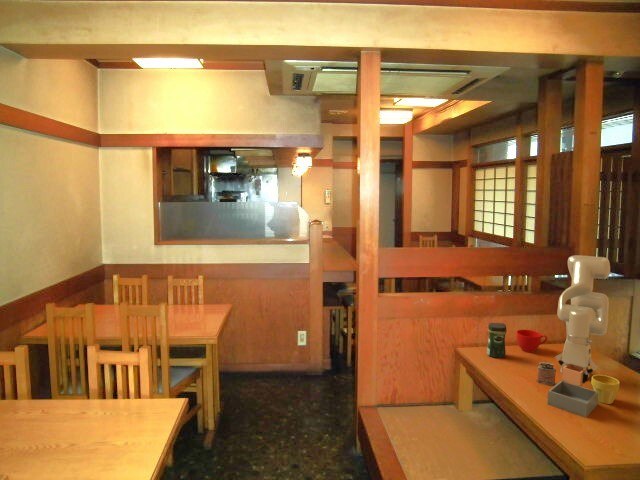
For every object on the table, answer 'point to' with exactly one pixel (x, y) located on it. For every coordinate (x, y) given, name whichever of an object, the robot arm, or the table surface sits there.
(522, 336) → the ceramic cup
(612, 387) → the plant pot
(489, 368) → the table surface
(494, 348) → the coffee jar
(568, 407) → the grey crate
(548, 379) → the lighter
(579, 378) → the terracotta crate
